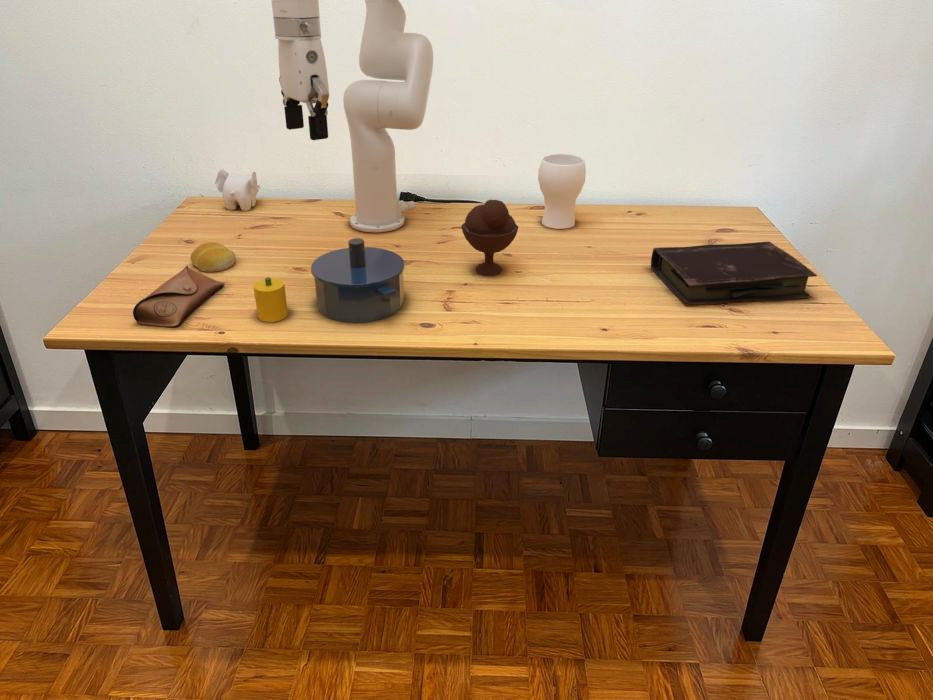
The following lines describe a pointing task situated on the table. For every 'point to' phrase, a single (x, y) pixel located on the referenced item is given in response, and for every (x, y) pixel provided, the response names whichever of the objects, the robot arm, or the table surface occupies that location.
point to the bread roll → (212, 257)
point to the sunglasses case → (175, 299)
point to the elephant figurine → (237, 189)
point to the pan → (360, 301)
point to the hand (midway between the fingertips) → (307, 133)
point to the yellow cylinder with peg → (270, 300)
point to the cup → (560, 188)
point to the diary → (731, 273)
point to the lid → (357, 266)
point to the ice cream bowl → (489, 233)
